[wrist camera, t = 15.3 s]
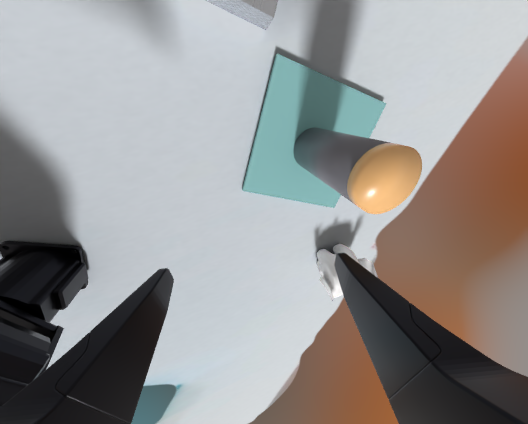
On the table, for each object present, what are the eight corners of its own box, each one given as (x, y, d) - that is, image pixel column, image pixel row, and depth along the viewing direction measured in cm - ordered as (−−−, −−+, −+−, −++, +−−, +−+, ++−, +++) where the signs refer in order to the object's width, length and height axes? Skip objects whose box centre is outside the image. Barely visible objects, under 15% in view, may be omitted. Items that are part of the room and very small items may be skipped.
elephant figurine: (309, 283, 34) (330, 321, 28) (306, 243, 29) (331, 280, 23) (348, 271, 34) (376, 306, 28) (352, 230, 29) (386, 262, 23)
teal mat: (242, 188, 22) (242, 190, 21) (275, 55, 16) (277, 53, 16) (331, 205, 26) (334, 207, 26) (382, 103, 21) (386, 103, 20)
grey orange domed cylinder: (285, 150, 20) (344, 187, 11) (315, 118, 19) (408, 128, 10) (308, 175, 22) (374, 224, 13) (336, 147, 21) (430, 178, 12)
